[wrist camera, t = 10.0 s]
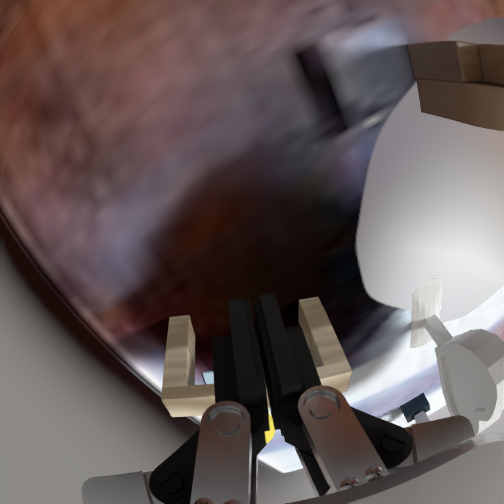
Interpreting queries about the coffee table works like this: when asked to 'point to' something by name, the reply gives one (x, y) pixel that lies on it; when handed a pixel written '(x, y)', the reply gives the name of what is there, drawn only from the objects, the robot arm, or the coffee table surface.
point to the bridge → (203, 396)
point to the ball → (270, 433)
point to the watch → (416, 409)
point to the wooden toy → (460, 81)
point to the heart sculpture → (461, 360)
